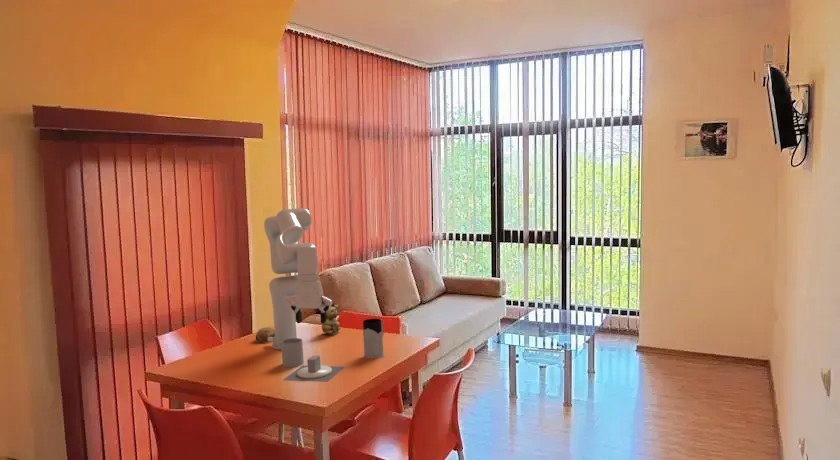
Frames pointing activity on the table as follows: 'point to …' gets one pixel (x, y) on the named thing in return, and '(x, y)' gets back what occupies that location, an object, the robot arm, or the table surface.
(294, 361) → the cup
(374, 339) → the glass holder
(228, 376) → the table surface
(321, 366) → the lid
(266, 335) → the bread roll
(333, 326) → the decorative figurine
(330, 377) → the mat
